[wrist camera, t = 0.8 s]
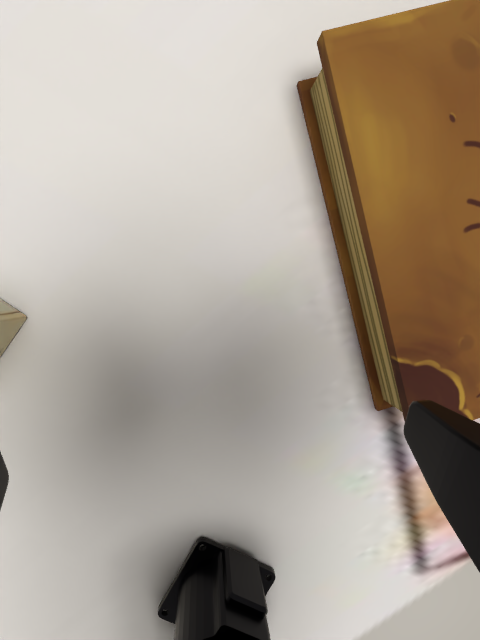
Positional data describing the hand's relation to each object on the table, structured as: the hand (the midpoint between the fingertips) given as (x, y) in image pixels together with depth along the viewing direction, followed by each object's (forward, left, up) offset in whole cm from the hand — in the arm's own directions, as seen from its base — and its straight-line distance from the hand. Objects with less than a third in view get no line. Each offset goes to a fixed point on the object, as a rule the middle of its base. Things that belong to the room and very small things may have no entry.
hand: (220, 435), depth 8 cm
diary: (+16, -12, -18) cm, 26 cm away
